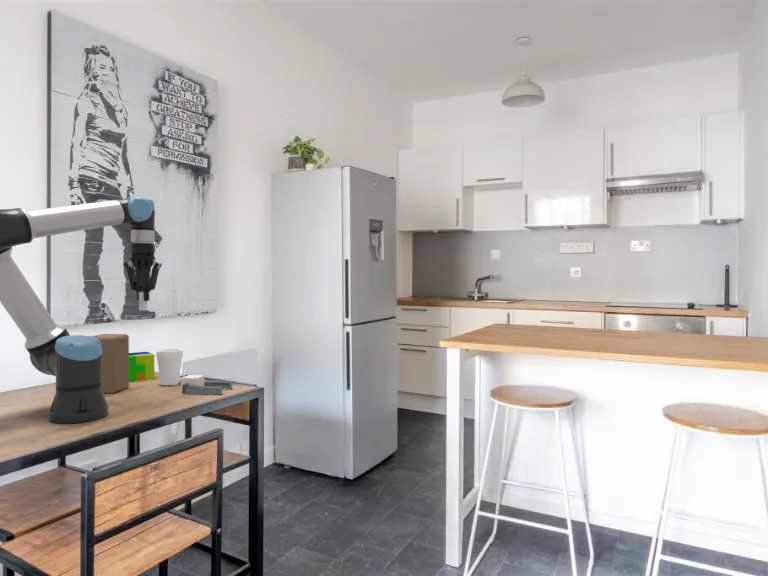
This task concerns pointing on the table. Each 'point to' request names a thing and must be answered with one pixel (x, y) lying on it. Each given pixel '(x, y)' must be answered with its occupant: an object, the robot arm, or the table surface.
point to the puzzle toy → (141, 366)
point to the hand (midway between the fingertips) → (143, 310)
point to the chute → (207, 388)
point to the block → (193, 380)
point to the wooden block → (114, 362)
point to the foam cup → (169, 365)
